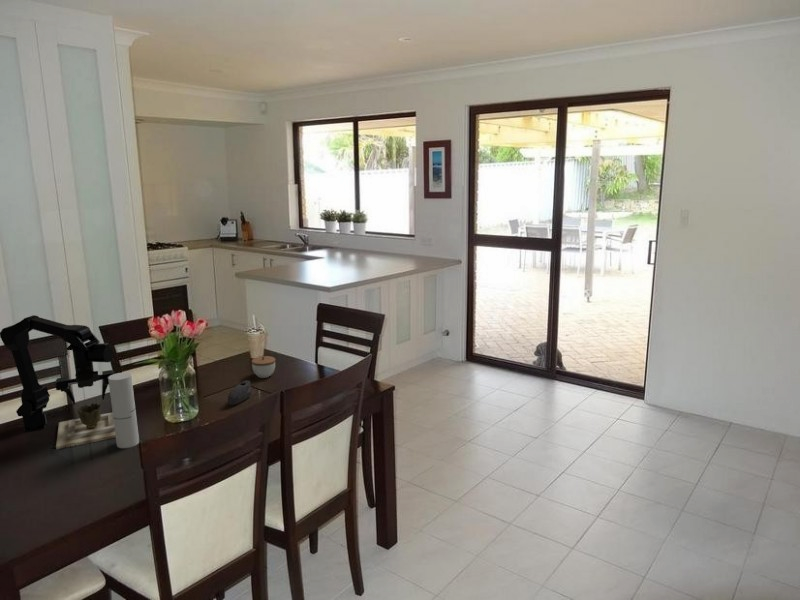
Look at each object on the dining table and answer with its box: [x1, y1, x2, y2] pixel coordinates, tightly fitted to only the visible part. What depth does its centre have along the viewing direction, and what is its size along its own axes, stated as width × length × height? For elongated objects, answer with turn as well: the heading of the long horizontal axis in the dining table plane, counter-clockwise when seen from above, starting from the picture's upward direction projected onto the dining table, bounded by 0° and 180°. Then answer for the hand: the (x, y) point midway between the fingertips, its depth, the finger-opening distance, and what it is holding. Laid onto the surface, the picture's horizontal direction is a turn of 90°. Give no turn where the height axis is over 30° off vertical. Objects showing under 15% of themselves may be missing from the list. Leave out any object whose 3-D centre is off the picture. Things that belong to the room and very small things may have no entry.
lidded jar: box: [251, 355, 276, 379], centre depth 263 cm, size 11×11×9 cm
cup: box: [77, 402, 102, 429], centre depth 208 cm, size 8×7×8 cm
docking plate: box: [55, 412, 116, 450], centre depth 209 cm, size 22×22×2 cm
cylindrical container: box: [108, 372, 140, 449], centre depth 196 cm, size 7×7×25 cm
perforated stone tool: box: [227, 379, 252, 406], centre depth 234 cm, size 15×5×7 cm, turn 160°
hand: (89, 401), depth 206 cm, fingers open, 9 cm apart
